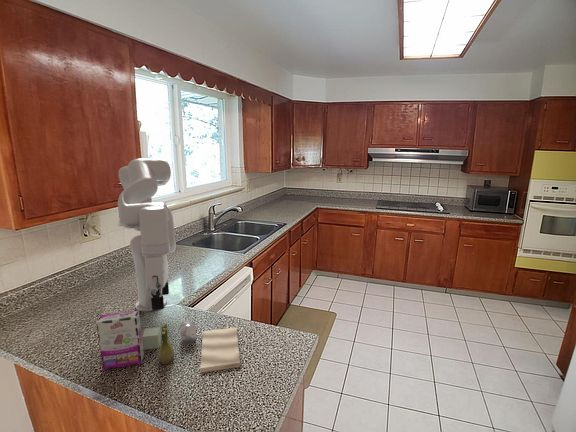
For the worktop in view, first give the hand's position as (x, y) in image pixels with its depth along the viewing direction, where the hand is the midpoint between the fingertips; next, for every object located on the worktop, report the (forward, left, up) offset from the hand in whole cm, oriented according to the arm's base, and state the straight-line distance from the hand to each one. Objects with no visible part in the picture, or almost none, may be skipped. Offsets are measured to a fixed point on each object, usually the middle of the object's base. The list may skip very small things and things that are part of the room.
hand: (161, 301), depth 96 cm
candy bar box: (-2, -13, -21) cm, 25 cm away
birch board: (-2, +17, -21) cm, 27 cm away
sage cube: (-10, -6, -21) cm, 24 cm away
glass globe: (-10, +6, -21) cm, 24 cm away
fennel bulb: (0, 0, -21) cm, 21 cm away
